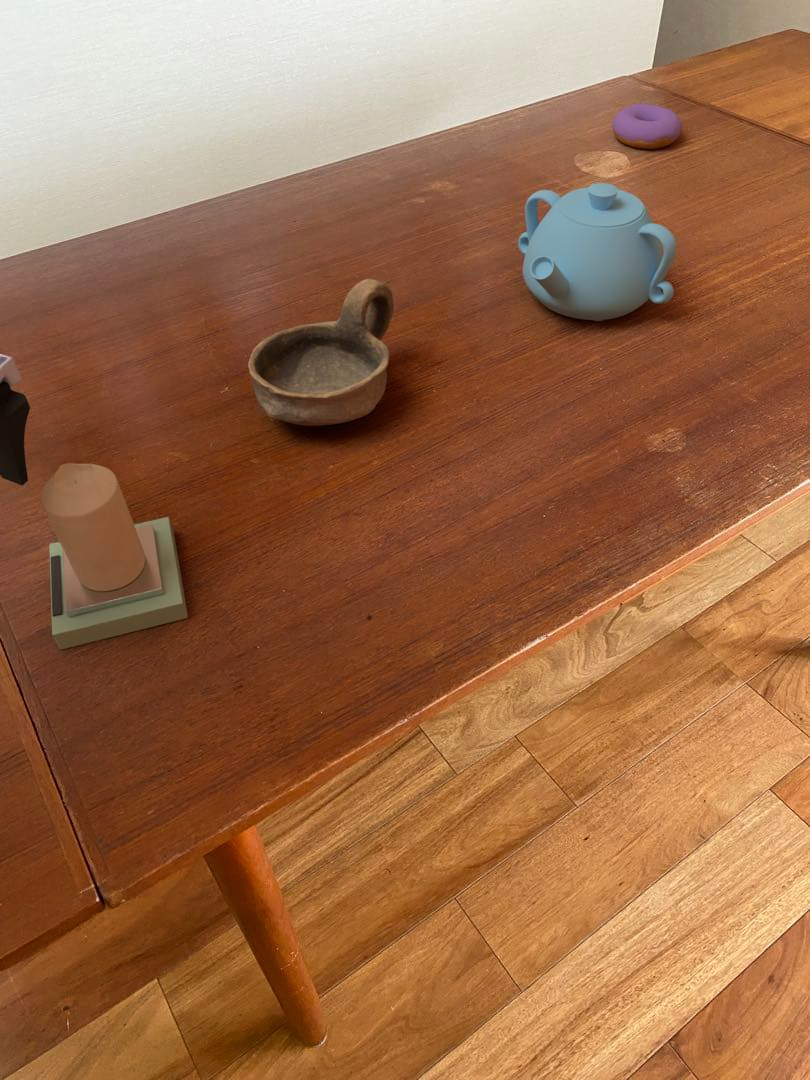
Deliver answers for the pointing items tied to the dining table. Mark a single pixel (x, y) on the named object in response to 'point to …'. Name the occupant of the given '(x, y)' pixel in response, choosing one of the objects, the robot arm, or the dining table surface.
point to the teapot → (595, 253)
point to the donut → (646, 126)
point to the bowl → (327, 363)
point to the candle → (93, 525)
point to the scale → (122, 615)
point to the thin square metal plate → (140, 588)
